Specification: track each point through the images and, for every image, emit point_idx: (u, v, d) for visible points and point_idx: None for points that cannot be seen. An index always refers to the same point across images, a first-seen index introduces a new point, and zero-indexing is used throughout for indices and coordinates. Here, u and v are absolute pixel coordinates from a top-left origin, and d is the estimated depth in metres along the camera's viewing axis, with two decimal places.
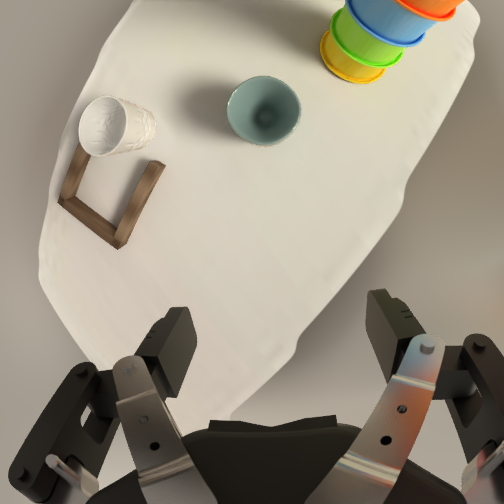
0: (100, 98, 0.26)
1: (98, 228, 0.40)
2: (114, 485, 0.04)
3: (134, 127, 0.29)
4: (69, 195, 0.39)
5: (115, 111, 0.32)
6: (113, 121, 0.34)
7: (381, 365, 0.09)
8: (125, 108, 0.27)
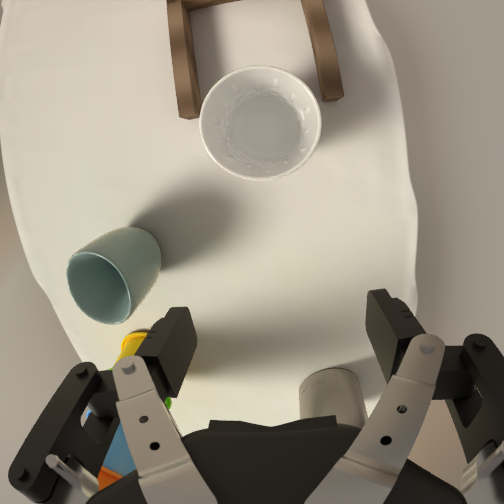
0: (300, 161, 0.17)
1: None
2: (114, 484, 0.04)
3: None
4: None
5: (299, 139, 0.22)
6: (297, 121, 0.22)
7: (381, 365, 0.09)
8: (235, 174, 0.18)
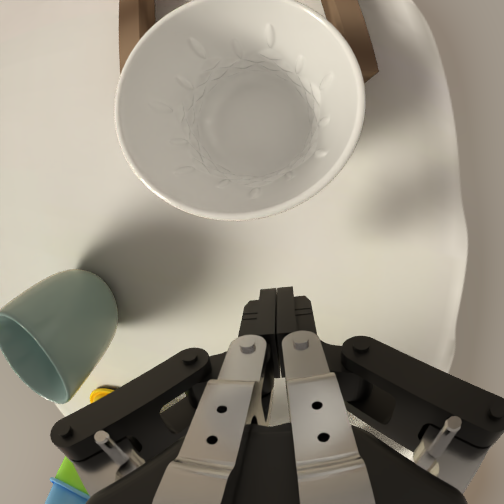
0: (322, 178, 0.08)
1: None
2: (114, 485, 0.04)
3: None
4: None
5: None
6: (307, 109, 0.13)
7: None
8: None
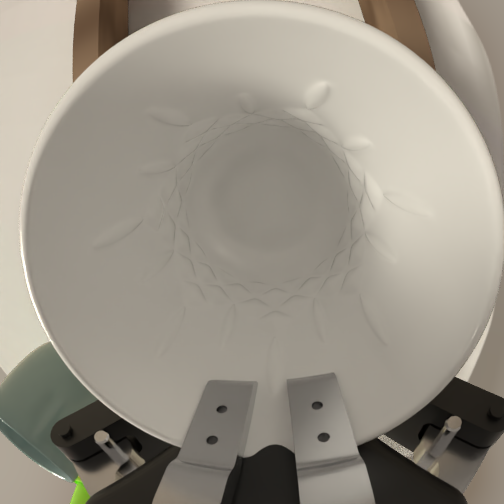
0: (381, 428, 0.04)
1: None
2: (114, 484, 0.04)
3: None
4: None
5: (352, 246, 0.09)
6: (346, 191, 0.10)
7: None
8: None
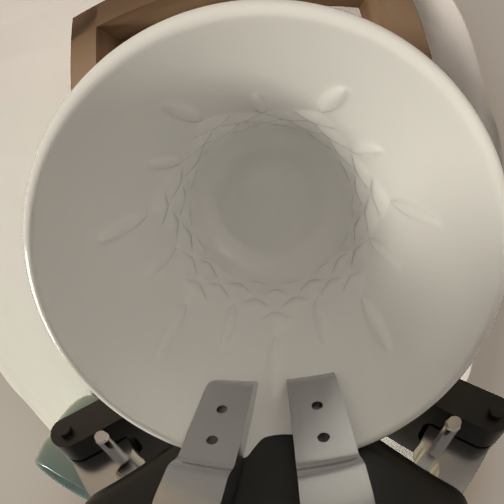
0: (381, 431, 0.04)
1: None
2: (114, 484, 0.04)
3: None
4: None
5: (355, 250, 0.09)
6: (351, 195, 0.10)
7: None
8: None
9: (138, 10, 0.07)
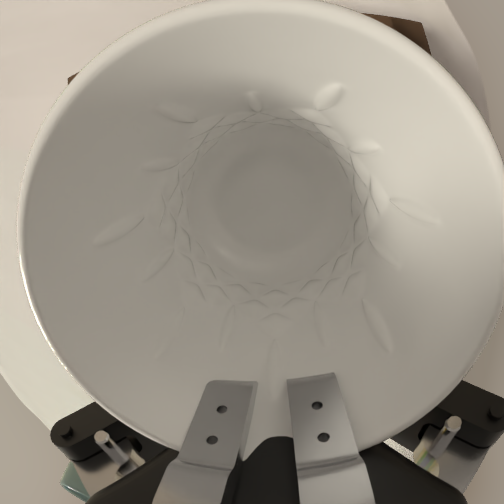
0: (381, 435, 0.04)
1: None
2: (114, 485, 0.04)
3: None
4: None
5: (355, 250, 0.09)
6: (350, 193, 0.10)
7: None
8: None
9: None
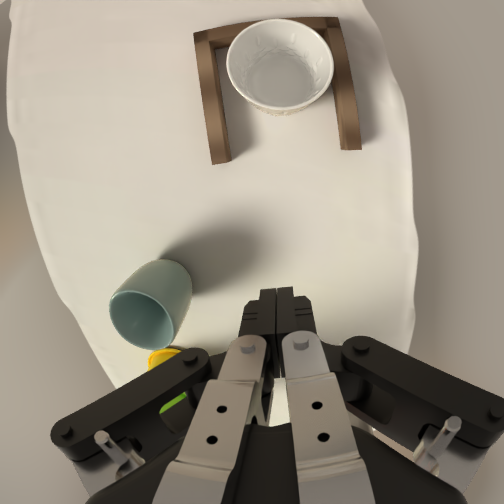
0: (315, 96, 0.17)
1: (239, 31, 0.21)
2: (113, 484, 0.04)
3: None
4: (326, 36, 0.21)
5: None
6: (309, 77, 0.23)
7: None
8: (256, 104, 0.18)
9: (228, 37, 0.21)
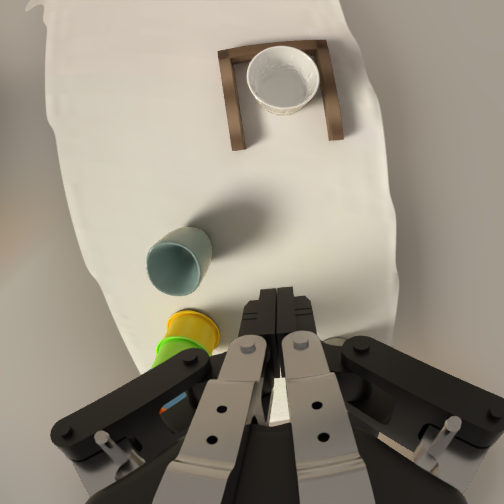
0: (306, 99, 0.26)
1: (252, 51, 0.30)
2: (114, 485, 0.04)
3: None
4: (317, 54, 0.30)
5: (305, 96, 0.31)
6: (304, 86, 0.32)
7: None
8: (267, 105, 0.27)
9: (244, 55, 0.30)
